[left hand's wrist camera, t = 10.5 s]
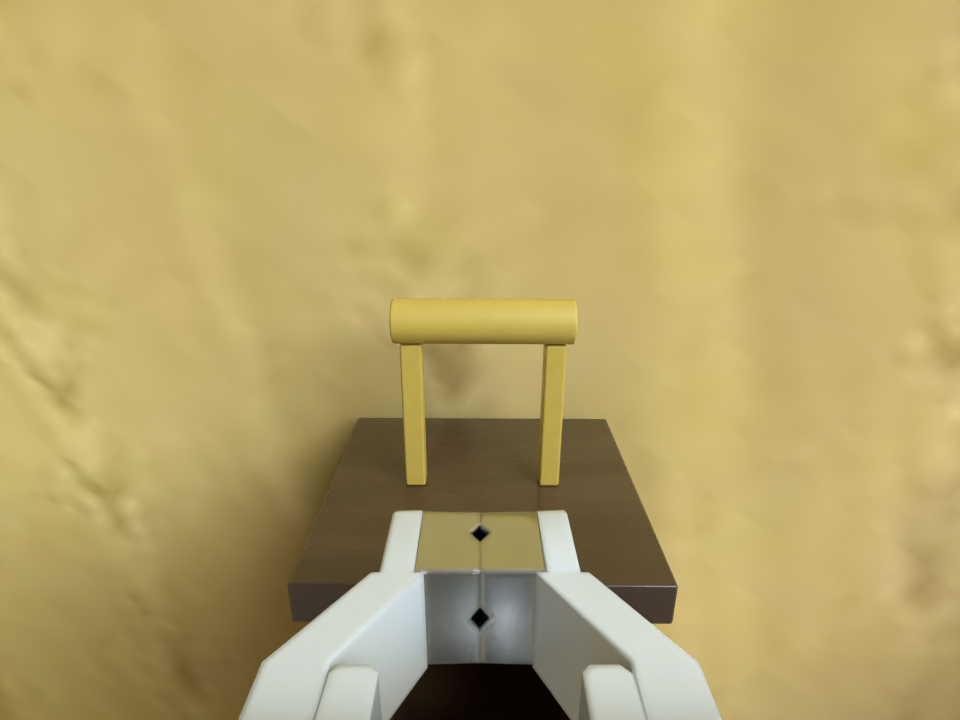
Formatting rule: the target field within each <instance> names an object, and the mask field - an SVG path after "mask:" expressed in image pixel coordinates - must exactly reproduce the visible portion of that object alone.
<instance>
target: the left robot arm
mask: <svg viewBox="0 0 960 720" xmlns="http://www.w3.org/2000/svg"><path fill="white" fill-rule="evenodd" d="M462 663H497V664H532V665H533V666H532V667H533V668H534V670H535V671H536V673H537V674H538V675H539V677H540V678H541V680H542V681H543V682H544V684H545V685H546V686H547V688H548V689H549V691H550V692H551V693H552V695H553V696H554V697H555V699H556V700H557V702H558V703H559V704H560V706H561V707H562V709H563V710H564V711H565V713H566V714H567V715H568V717H569V718H570V720H722V718H721V716H720V714H719V711H718V709H717V706H716V704H715V701H714V699H713V696H712V694H711V692H710V689H709V687H708V684H707V682H706V679H705V677H704V675H703V672H702V670H701V667H700V665H699V663H698V662H697V661H696V660H695V659H693V658H692V657H691V656H690V655H689V654H687V653H686V652H685V651H684V650H682V649H681V648H680V647H679V646H678V645H676V644H675V643H674V642H673V641H672V640H670V639H669V638H668V637H667V636H666V635H664V634H663V633H662V632H661V631H660V630H658V629H657V628H656V627H655V626H653V625H652V624H651V623H650V622H649V621H647V620H646V619H645V618H644V617H643V616H641V615H640V614H639V613H638V612H637V611H635V610H634V609H633V608H632V607H630V606H629V605H628V604H627V603H626V602H624V601H623V600H622V599H621V598H620V597H618V596H617V595H616V594H615V593H614V592H612V591H611V590H610V589H609V588H607V587H606V586H605V585H604V584H603V583H601V582H600V581H599V580H598V579H597V578H595V577H594V576H593V575H592V574H591V573H589V572H581V571H580V567H579V563H578V559H577V554H576V550H575V546H574V541H573V537H572V533H571V528H570V524H569V520H568V516H567V513H566V512H565V511H564V510H549V511H536V512H473V511H426V510H425V511H424V512H423V511H422V510H396V511H395V512H394V514H393V515H392V519H391V524H390V528H389V532H388V537H387V541H386V545H385V550H384V554H383V558H382V563H381V567H380V571H379V572H371V573H369V574H368V575H367V576H366V577H365V578H363V579H362V580H361V581H360V582H359V583H357V584H356V585H355V586H354V587H352V588H351V589H350V590H349V591H348V592H346V593H345V594H344V595H343V596H342V597H340V598H339V599H338V600H337V601H335V602H334V603H333V604H332V605H331V606H329V607H328V608H327V609H326V610H325V611H323V612H322V613H321V614H320V615H318V616H317V617H316V618H315V619H314V620H312V621H311V622H310V623H309V624H307V625H306V626H305V627H304V628H303V629H301V630H300V631H299V632H298V633H297V634H295V635H294V636H293V637H292V638H290V639H289V640H288V641H287V642H286V643H284V644H283V645H282V646H281V647H280V648H278V649H277V650H276V651H275V652H273V653H272V654H271V655H270V656H269V657H267V658H266V659H265V660H264V661H263V662H262V663H261V666H260V668H259V670H258V673H257V675H256V678H255V680H254V682H253V685H252V687H251V690H250V692H249V694H248V697H247V699H246V702H245V704H244V706H243V709H242V711H241V714H240V716H239V718H238V720H390V719H391V717H392V716H393V714H394V713H395V712H396V710H397V709H398V708H399V706H400V705H401V704H402V702H403V701H404V699H405V698H406V697H407V695H408V694H409V693H410V691H411V690H412V688H413V687H414V686H415V684H416V683H417V682H418V680H419V679H420V677H421V676H422V675H423V673H424V672H425V671H426V669H427V668H428V664H462Z"/></svg>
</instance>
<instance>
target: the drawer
mask: <svg viewBox="0 0 960 720" xmlns="http://www.w3.org/2000/svg"><path fill="white" fill-rule="evenodd" d="M577 325H578V315H577V305H576V302H575V300H573V299H392V302H391V306H390V335H391V340H392V342H393V343H401V345H400V362H401V383H402V405H403V418H359V419H358V421H357V423H356V426H355V428H354V430H353V433H352V435H351V437H350V440H349V442H348V444H347V447H346V449H345V451H344V454H343V456H342V458H341V461H340V463H339V465H338V468H337V470H336V473H335V475H334V477H333V480H332V482H331V484H330V487H329V489H328V491H327V494H326V496H325V498H324V501H323V503H322V505H321V508H320V510H319V512H318V515H317V517H316V519H315V522H314V524H313V526H312V529H311V531H310V534H309V536H308V538H307V541H306V543H305V545H304V548H303V550H302V552H301V555H300V557H299V559H298V562H297V564H296V566H295V569H294V571H293V573H292V576H291V578H290V580H289V583H288V590H289V598H290V605H291V612H292V619H293V621H294V622H311V621H312V620H314V619H315V618H316V617H317V616H318V615H320V614H321V613H322V612H323V611H325V610H326V609H327V608H328V607H329V606H331V605H332V604H333V603H334V602H335V601H337V600H338V599H339V598H340V597H342V596H343V595H344V594H345V593H346V592H348V591H349V590H350V589H351V588H352V587H354V586H355V585H356V584H357V583H359V582H360V581H361V580H362V579H363V578H365V577H366V576H367V575H368V574H369V573H371V572H379V571H380V567H381V563H382V558H383V554H384V550H385V545H386V541H387V537H388V532H389V528H390V524H391V519H392V515H393V514H394V512H395V511H396V510H422V511H423V512H424V511H425V510H426V511H473V512H536V511H549V510H564V511H565V512H566V513H567V516H568V520H569V524H570V528H571V533H572V537H573V541H574V546H575V550H576V554H577V559H578V563H579V567H580V571H581V572H589V573H591V574H592V575H593V576H594V577H595V578H597V579H598V580H599V581H600V582H601V583H603V584H604V585H605V586H606V587H607V588H609V589H610V590H611V591H612V592H614V593H615V594H616V595H617V596H618V597H620V598H621V599H622V600H623V601H624V602H626V603H627V604H628V605H629V606H630V607H632V608H633V609H634V610H635V611H637V612H638V613H639V614H640V615H641V616H643V617H644V618H645V619H646V620H647V621H649V622H650V623H651V624H670V623H672V621H673V614H674V608H675V601H676V595H677V588H678V586H677V584H676V581H675V579H674V577H673V574H672V572H671V570H670V567H669V565H668V563H667V560H666V558H665V556H664V553H663V551H662V549H661V546H660V544H659V542H658V540H657V537H656V535H655V533H654V530H653V528H652V526H651V523H650V521H649V519H648V516H647V514H646V512H645V509H644V507H643V505H642V502H641V500H640V498H639V496H638V493H637V491H636V489H635V486H634V484H633V482H632V479H631V477H630V475H629V472H628V470H627V468H626V465H625V463H624V461H623V458H622V456H621V454H620V451H619V449H618V447H617V445H616V442H615V440H614V438H613V435H612V433H611V431H610V428H609V426H608V424H607V421H606V420H605V419H563V402H564V386H565V369H566V353H567V348H566V345H565V344H574V343H575V340H576V336H577ZM423 344H544V351H543V373H542V395H541V417H540V419H456V418H425V398H424V367H423ZM532 666H533V665H532V664H497V663H462V664H428V668H427V669H426V671H425V672H424V673H423V675H422V676H421V677H420V679H419V680H418V682H417V683H416V684H415V686H414V687H413V688H412V690H411V691H410V693H409V694H408V695H407V697H406V698H405V699H404V701H403V702H402V704H401V705H400V706H399V708H398V709H397V710H396V712H395V713H394V714H393V716H392V717H391V719H390V720H570V718H569V717H568V715H567V714H566V713H565V711H564V710H563V709H562V707H561V706H560V704H559V703H558V702H557V700H556V699H555V697H554V696H553V695H552V693H551V692H550V691H549V689H548V688H547V686H546V685H545V684H544V682H543V681H542V680H541V678H540V677H539V675H538V674H537V673H536V671H535V670H534V668H533V667H532Z"/></svg>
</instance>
